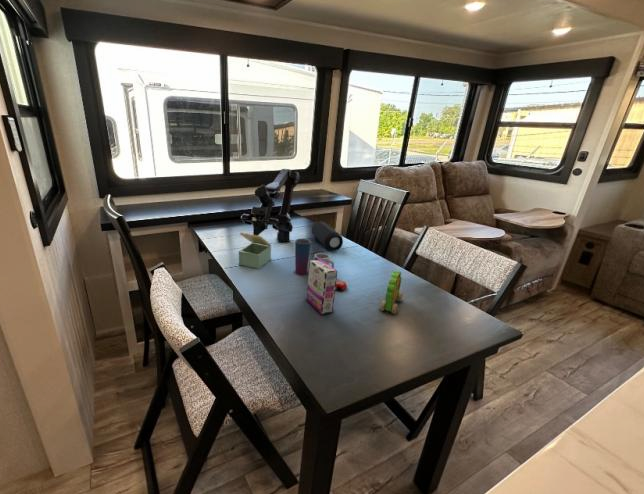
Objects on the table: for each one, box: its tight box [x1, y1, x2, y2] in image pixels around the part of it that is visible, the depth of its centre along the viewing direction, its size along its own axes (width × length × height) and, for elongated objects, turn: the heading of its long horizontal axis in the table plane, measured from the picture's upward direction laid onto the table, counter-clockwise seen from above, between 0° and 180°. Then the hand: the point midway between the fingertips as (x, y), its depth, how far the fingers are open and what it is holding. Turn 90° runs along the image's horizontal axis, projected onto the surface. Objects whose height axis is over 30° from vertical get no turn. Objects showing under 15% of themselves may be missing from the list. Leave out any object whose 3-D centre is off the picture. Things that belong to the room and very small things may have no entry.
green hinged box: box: [238, 242, 272, 270], centre depth 148 cm, size 13×11×7 cm
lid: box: [239, 232, 272, 247], centre depth 146 cm, size 13×11×1 cm
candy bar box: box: [306, 259, 338, 315], centre depth 111 cm, size 11×5×16 cm, turn 23°
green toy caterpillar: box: [379, 269, 404, 315], centre depth 112 cm, size 16×5×15 cm, turn 148°
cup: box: [294, 238, 312, 276], centre depth 137 cm, size 7×7×15 cm
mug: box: [313, 252, 335, 269], centre depth 141 cm, size 10×7×7 cm
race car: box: [335, 278, 348, 292], centre depth 128 cm, size 13×5×4 cm, turn 63°
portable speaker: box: [311, 221, 344, 251], centre depth 173 cm, size 26×10×10 cm, turn 13°
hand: (254, 237), depth 144 cm, fingers closed, pressing on lid
